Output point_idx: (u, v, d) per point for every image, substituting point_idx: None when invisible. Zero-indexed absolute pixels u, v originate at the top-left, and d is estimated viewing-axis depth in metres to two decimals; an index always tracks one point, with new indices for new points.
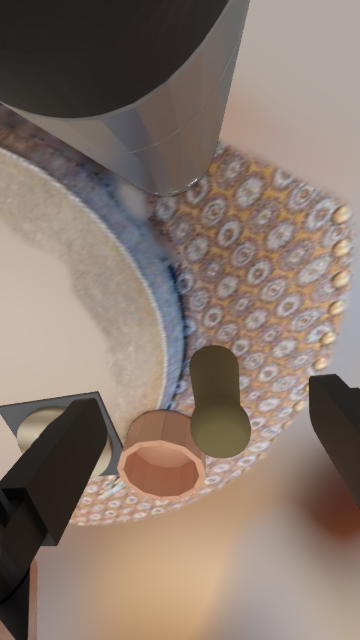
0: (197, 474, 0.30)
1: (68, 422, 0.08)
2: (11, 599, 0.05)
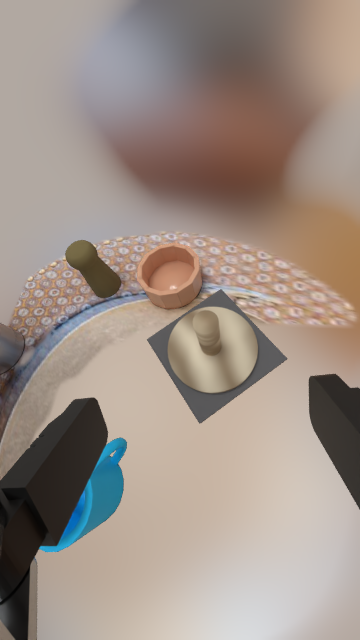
0: (165, 250, 0.43)
1: (68, 422, 0.08)
2: (11, 599, 0.05)
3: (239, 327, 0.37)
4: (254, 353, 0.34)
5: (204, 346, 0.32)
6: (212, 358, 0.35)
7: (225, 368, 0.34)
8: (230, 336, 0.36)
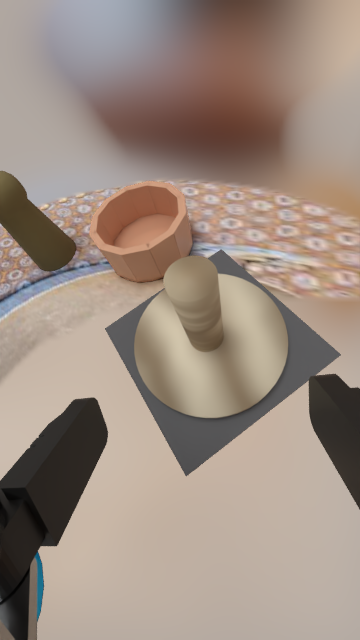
0: (135, 194, 0.28)
1: (68, 422, 0.08)
2: (11, 599, 0.05)
3: (253, 303, 0.22)
4: (282, 345, 0.20)
5: (192, 333, 0.17)
6: (209, 356, 0.20)
7: (231, 374, 0.19)
8: (238, 318, 0.21)
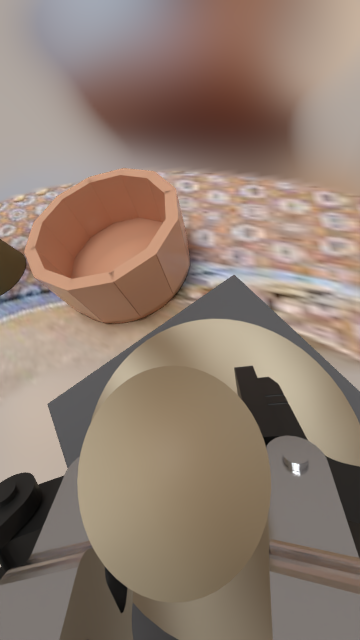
0: (103, 188, 0.19)
1: None
2: None
3: (297, 382, 0.12)
4: None
5: None
6: None
7: (263, 543, 0.10)
8: None
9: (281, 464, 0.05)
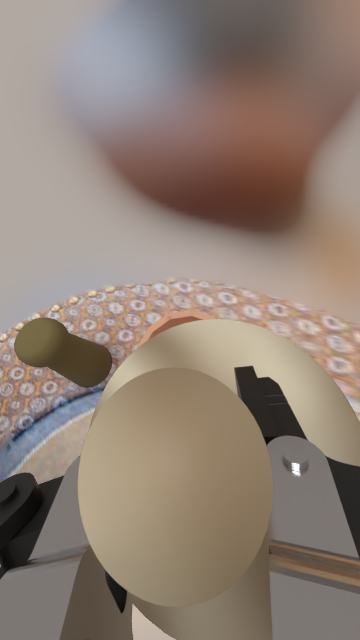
0: (177, 320, 0.27)
1: None
2: None
3: (297, 383, 0.12)
4: None
5: None
6: None
7: (264, 544, 0.10)
8: None
9: (281, 464, 0.05)
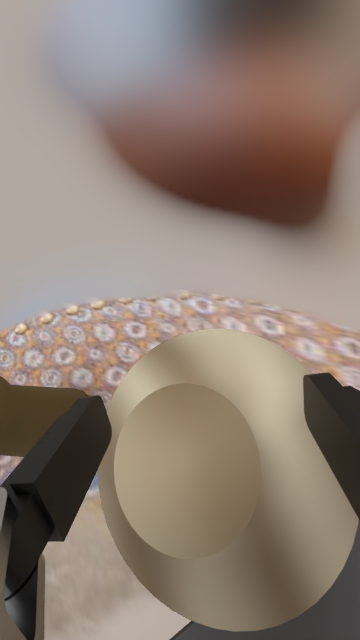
0: None
1: (74, 419, 0.08)
2: (19, 593, 0.05)
3: (291, 388, 0.13)
4: None
5: None
6: None
7: (260, 532, 0.11)
8: (267, 415, 0.13)
9: None
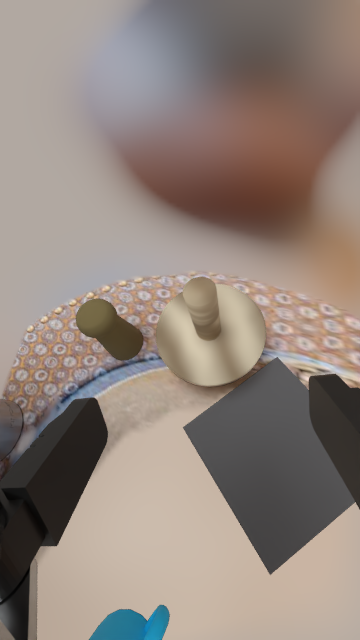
0: None
1: (68, 422, 0.08)
2: (11, 599, 0.05)
3: (243, 306, 0.30)
4: (262, 336, 0.28)
5: (199, 326, 0.26)
6: (210, 344, 0.29)
7: (226, 356, 0.28)
8: (232, 317, 0.30)
9: None
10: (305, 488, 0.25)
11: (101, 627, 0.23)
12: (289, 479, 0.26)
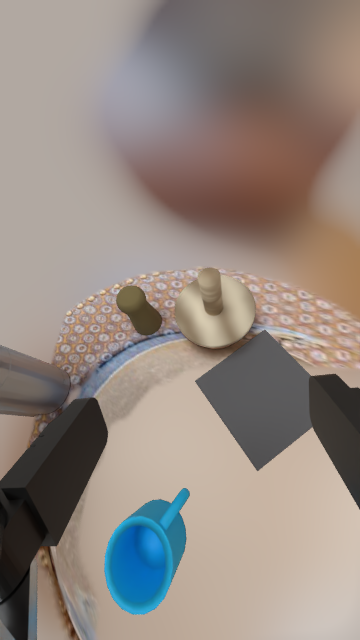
0: None
1: (68, 422, 0.08)
2: (11, 599, 0.05)
3: (239, 291, 0.41)
4: (252, 311, 0.39)
5: (208, 303, 0.36)
6: (215, 318, 0.39)
7: (227, 325, 0.38)
8: (231, 299, 0.40)
9: None
10: (282, 417, 0.36)
11: (142, 506, 0.33)
12: (272, 411, 0.37)
